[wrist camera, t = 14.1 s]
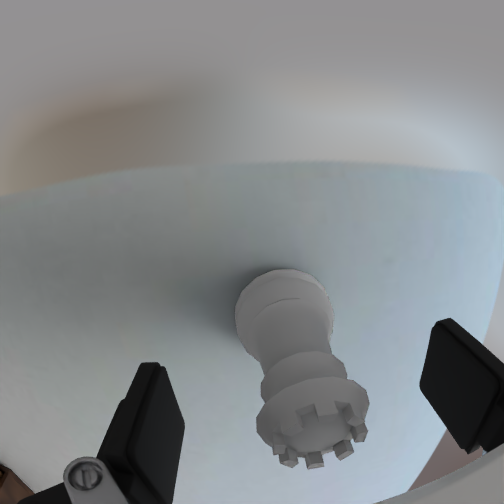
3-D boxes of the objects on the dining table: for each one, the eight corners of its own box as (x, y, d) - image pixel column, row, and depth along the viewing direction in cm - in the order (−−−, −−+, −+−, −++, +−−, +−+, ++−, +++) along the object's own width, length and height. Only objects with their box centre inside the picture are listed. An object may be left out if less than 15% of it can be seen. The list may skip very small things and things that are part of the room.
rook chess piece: (338, 272, 14) (428, 379, 6) (314, 352, 15) (361, 478, 7) (242, 257, 13) (250, 376, 6) (228, 343, 14) (224, 482, 7)
